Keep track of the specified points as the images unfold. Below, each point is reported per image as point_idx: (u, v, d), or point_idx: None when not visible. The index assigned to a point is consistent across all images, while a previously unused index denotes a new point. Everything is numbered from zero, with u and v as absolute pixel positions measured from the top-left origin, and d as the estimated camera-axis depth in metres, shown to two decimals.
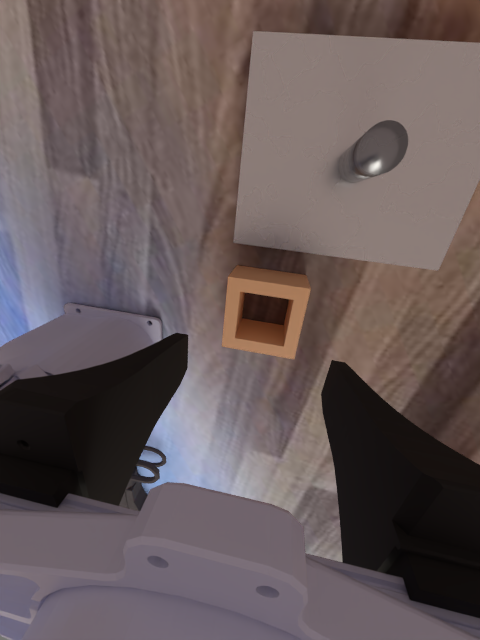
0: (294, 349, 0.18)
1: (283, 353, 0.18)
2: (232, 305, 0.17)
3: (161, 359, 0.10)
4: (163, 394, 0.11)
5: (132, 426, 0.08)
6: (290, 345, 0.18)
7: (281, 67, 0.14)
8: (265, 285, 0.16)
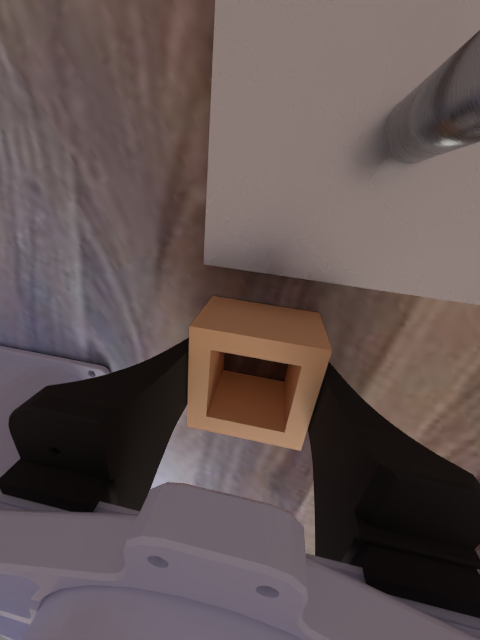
0: (301, 437, 0.11)
1: (284, 441, 0.11)
2: (199, 369, 0.10)
3: (181, 363, 0.10)
4: (181, 398, 0.11)
5: (155, 431, 0.08)
6: (295, 431, 0.11)
7: None
8: (252, 341, 0.09)
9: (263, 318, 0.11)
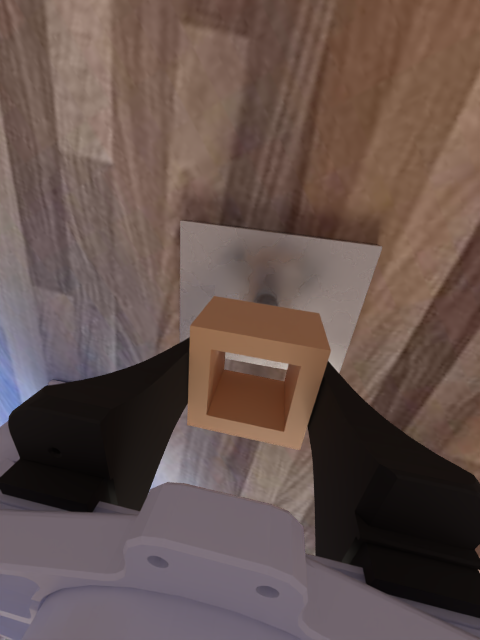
0: (300, 437, 0.11)
1: (283, 441, 0.11)
2: (200, 368, 0.11)
3: (181, 363, 0.10)
4: (181, 398, 0.11)
5: (155, 431, 0.08)
6: (294, 431, 0.11)
7: (203, 243, 0.18)
8: (252, 341, 0.10)
9: (263, 318, 0.11)
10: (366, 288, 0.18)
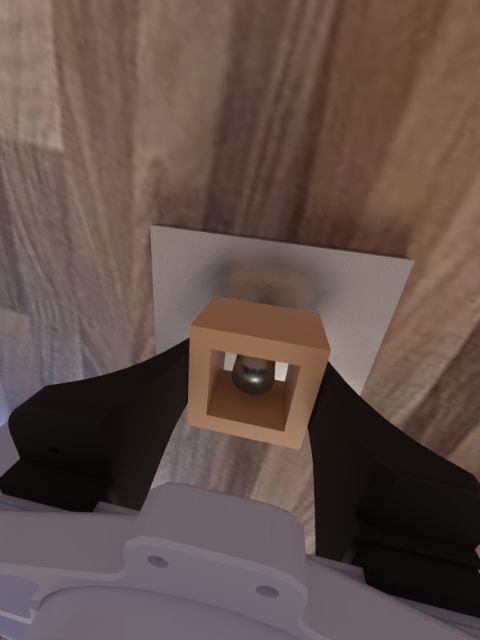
0: (301, 436, 0.11)
1: (283, 440, 0.11)
2: (200, 368, 0.11)
3: (181, 363, 0.10)
4: (181, 398, 0.11)
5: (155, 431, 0.08)
6: (294, 431, 0.11)
7: (180, 254, 0.14)
8: (252, 341, 0.10)
9: (263, 318, 0.11)
10: (391, 313, 0.14)
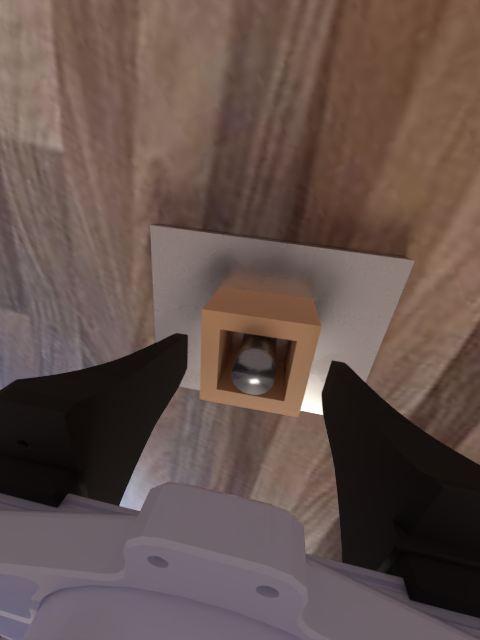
0: (299, 405, 0.13)
1: (284, 409, 0.13)
2: (211, 347, 0.12)
3: (161, 359, 0.10)
4: (163, 394, 0.11)
5: (132, 426, 0.08)
6: (293, 400, 0.13)
7: (180, 254, 0.14)
8: (255, 321, 0.11)
9: (264, 303, 0.13)
10: (391, 313, 0.14)
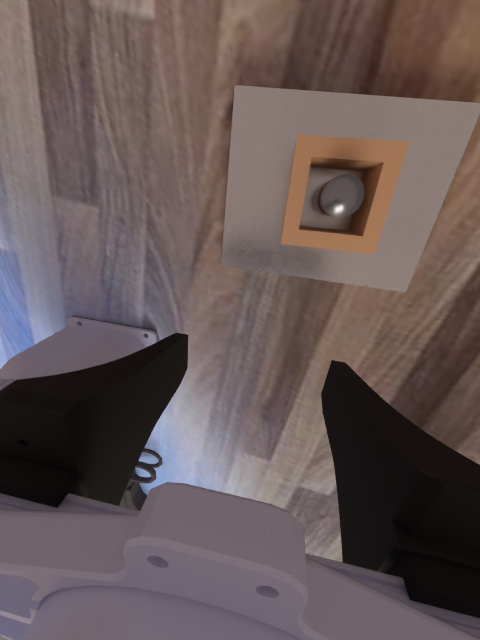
0: (376, 239, 0.14)
1: (361, 246, 0.14)
2: (300, 178, 0.13)
3: (161, 359, 0.10)
4: (163, 394, 0.11)
5: (132, 426, 0.08)
6: (372, 233, 0.14)
7: (260, 116, 0.15)
8: (346, 142, 0.12)
9: None
10: (456, 165, 0.15)
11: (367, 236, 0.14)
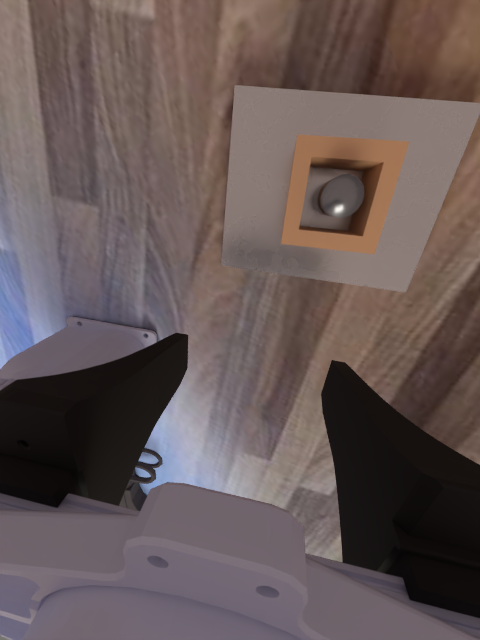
0: (376, 239, 0.14)
1: (361, 246, 0.14)
2: (300, 178, 0.13)
3: (161, 359, 0.10)
4: (163, 394, 0.11)
5: (132, 426, 0.08)
6: (372, 233, 0.14)
7: (260, 116, 0.15)
8: (346, 142, 0.12)
9: None
10: (456, 165, 0.15)
11: (367, 236, 0.14)
